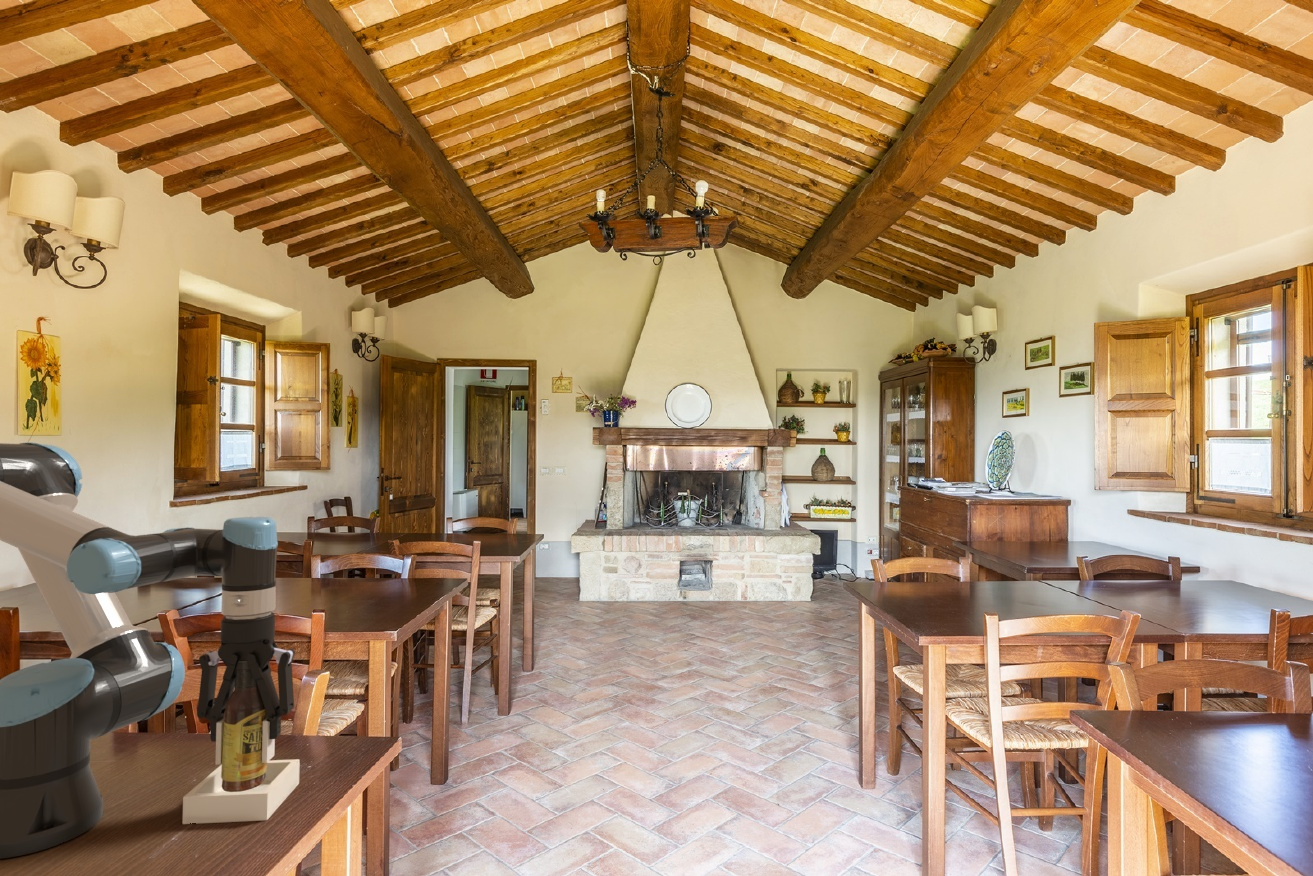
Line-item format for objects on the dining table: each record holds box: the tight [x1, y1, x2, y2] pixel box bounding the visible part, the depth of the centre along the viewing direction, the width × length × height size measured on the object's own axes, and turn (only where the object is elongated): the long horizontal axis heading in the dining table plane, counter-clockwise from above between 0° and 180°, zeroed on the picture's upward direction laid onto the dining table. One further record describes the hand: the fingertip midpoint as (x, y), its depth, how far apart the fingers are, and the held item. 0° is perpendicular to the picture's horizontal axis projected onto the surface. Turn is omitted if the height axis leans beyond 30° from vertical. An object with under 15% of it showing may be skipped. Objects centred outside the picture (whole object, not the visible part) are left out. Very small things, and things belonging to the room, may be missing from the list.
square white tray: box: [182, 758, 301, 825], centre depth 110 cm, size 12×12×4 cm
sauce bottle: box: [221, 661, 268, 792], centre depth 111 cm, size 7×6×20 cm
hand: (245, 759), depth 110 cm, fingers closed on sauce bottle, 6 cm apart
